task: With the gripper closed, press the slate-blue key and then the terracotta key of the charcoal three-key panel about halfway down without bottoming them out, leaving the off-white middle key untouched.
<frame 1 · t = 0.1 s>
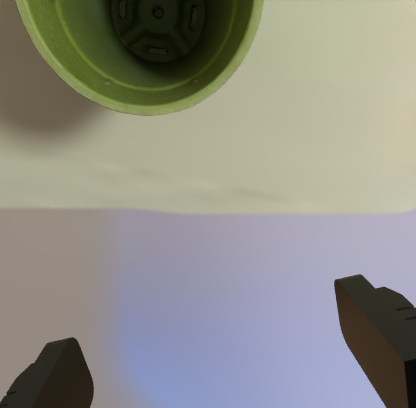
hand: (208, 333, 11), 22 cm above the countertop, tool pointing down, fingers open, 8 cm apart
plant pot: (156, 12, 27), on the countertop
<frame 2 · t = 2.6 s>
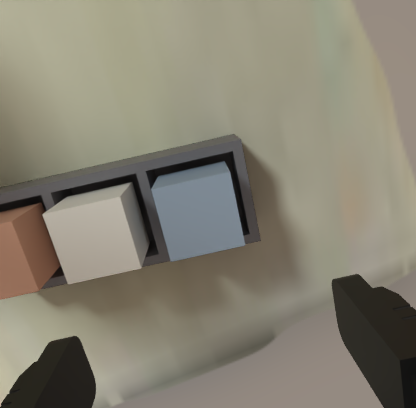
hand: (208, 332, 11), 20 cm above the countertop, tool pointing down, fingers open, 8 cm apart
slate key: (199, 208, 25), point 6 cm above the countertop, slide at 0.0 cm
white key: (101, 230, 25), point 6 cm above the countertop, slide at 0.0 cm
terracotta key: (6, 251, 25), point 6 cm above the countertop, slide at 0.0 cm
key panel: (118, 207, 30), on the countertop
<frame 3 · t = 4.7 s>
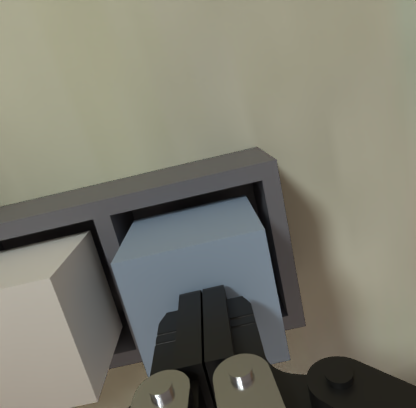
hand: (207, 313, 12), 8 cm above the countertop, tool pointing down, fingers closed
slate key: (203, 282, 14), point 6 cm above the countertop, slide at 0.0 cm, touching gripper
white key: (33, 320, 14), point 6 cm above the countertop, slide at 0.0 cm
key panel: (78, 260, 20), on the countertop
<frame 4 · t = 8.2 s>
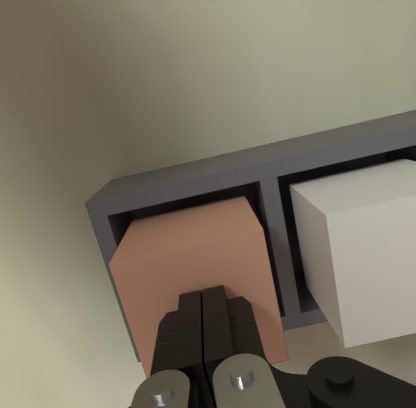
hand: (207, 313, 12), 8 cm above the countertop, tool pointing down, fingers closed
white key: (377, 243, 14), point 6 cm above the countertop, slide at 0.0 cm
terracotta key: (202, 282, 14), point 6 cm above the countertop, slide at 0.0 cm, touching gripper
key panel: (325, 204, 19), on the countertop
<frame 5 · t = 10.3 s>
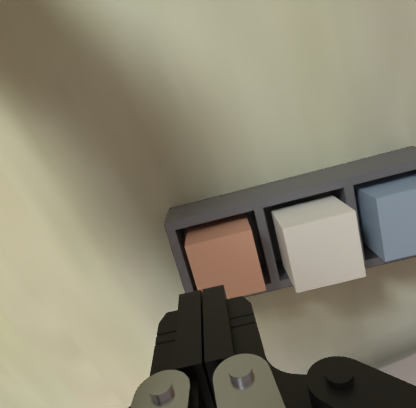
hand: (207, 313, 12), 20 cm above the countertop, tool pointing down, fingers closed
slate key: (399, 213, 28), point 4 cm above the countertop, slide at 1.3 cm
white key: (315, 241, 27), point 6 cm above the countertop, slide at 0.0 cm
terracotta key: (224, 256, 28), point 4 cm above the countertop, slide at 1.3 cm
key panel: (296, 218, 32), on the countertop
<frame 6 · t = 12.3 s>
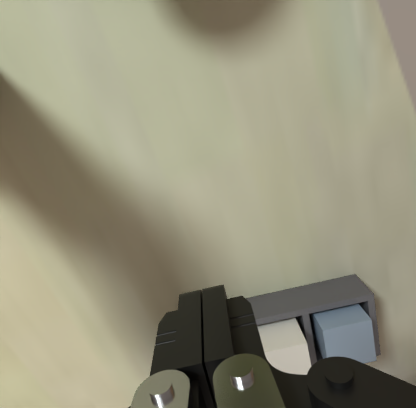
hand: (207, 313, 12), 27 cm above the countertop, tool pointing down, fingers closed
slate key: (341, 332, 39), point 4 cm above the countertop, slide at 1.3 cm
white key: (281, 354, 38), point 6 cm above the countertop, slide at 0.0 cm
key panel: (270, 322, 43), on the countertop
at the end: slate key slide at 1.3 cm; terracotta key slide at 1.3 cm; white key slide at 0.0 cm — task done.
